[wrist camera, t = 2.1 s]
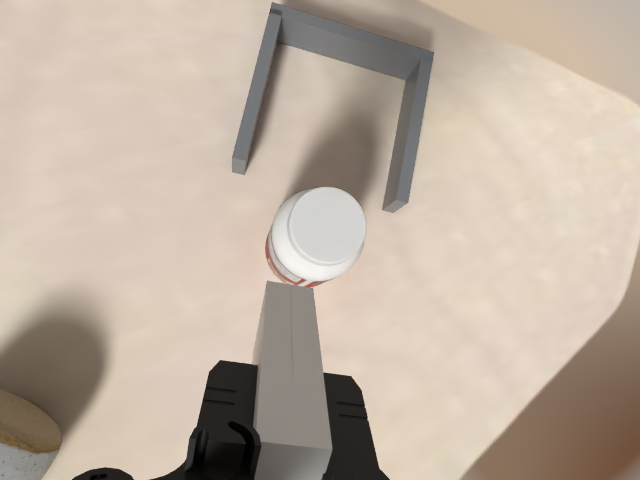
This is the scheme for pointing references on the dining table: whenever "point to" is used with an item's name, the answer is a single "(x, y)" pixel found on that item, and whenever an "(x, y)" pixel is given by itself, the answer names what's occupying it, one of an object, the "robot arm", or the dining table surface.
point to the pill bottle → (315, 236)
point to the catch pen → (357, 51)
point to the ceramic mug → (25, 439)
